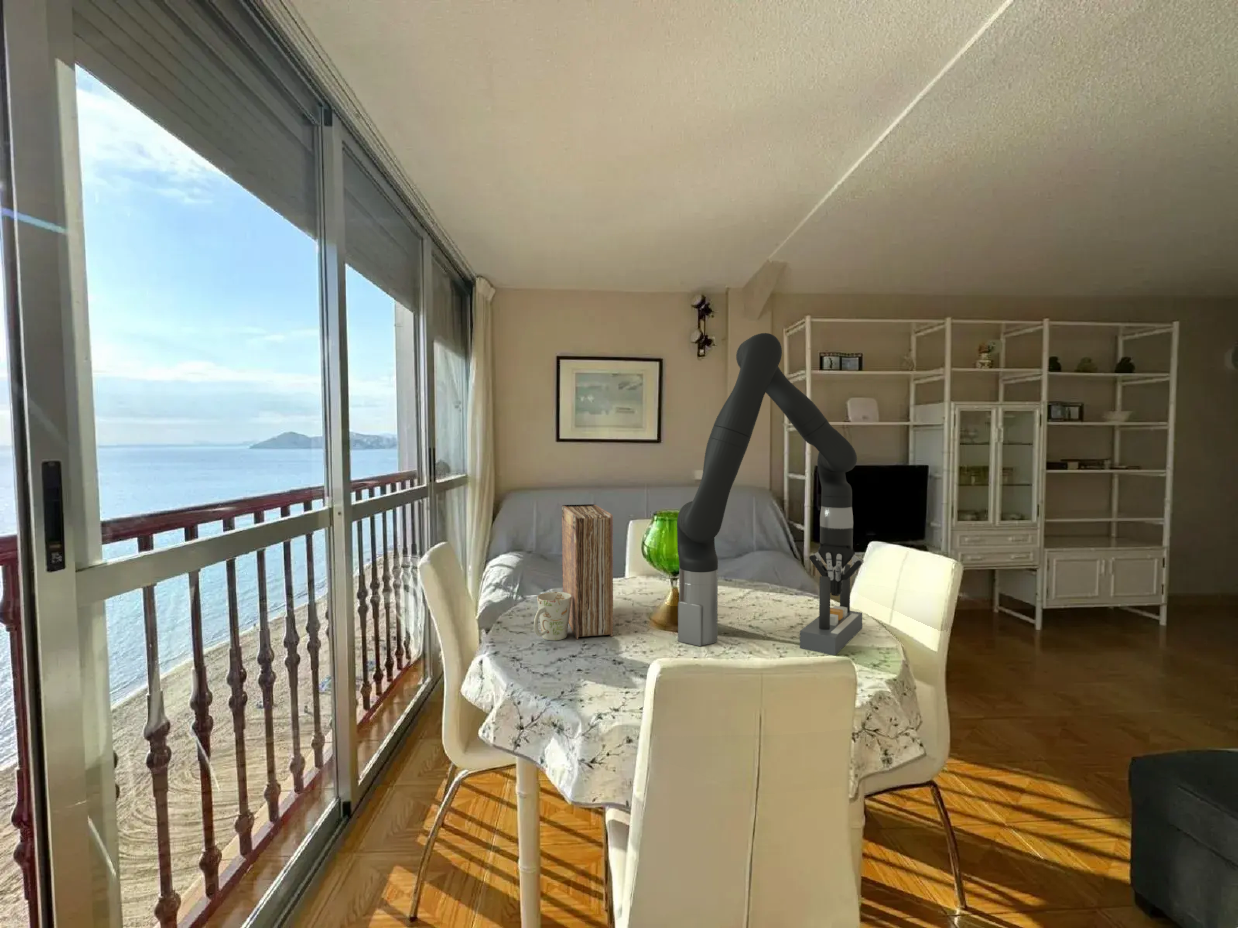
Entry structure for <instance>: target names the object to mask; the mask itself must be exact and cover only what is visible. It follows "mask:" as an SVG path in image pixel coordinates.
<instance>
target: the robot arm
mask: <svg viewBox="0 0 1238 928" xmlns="http://www.w3.org/2000/svg"><path fill="white" fill-rule="evenodd" d="M782 349H783V348H782V345H781V342H780V340H779V338H777V337H776V336H775V334H772V333H769V332H762V333H757V334H754V335H752V336H751V337H749V338H747V339H745V340H744V341H743V342H742V343H741V344H740V345H739V346H738V347H737V350H736V355H735V357H736V358H735V359H736V363H737V366H738V367H739V372H738V376H737V379H736V381H735V385H734V387H733V388H732V391H731V392H730V394H729V395H728V398H727V399H726V401H725V402H724V404H723V405H722V408H721V409H720V411H719V412H718V415H717V416H716V419H715V421H714V423H713V426H712V427H711V432H710V434H709V436H708V440H707V444H706V448H705V453H704V460H703V461H704V462H703V469H702V476H701V480H700V483H699V486H698V488H697V491H696V493H695V496H694V498H693V500H691V501H689V502H687V503H685V504H684V505H683V506H682V507H681V508H680V510H679V512H678V515H677V521H676V524H677V525H676V533H677V534H676V535H677V540H676V542H677V544H676V545H677V555H678V556H677V557H678V564H679V565H678V567H679V568H678V569H679V571H678V573H679V576H678V577H679V578H678V581H679V583H678V589H679V592H678V602H677V641H678V642H681V643H684V644H690V645H694V646H697V647H701V646H705V645H706V646H707V645H711V644H714V643H716V642H717V641H718V623H719V622H718V620H719V619H718V612H719V611H718V606H719V605H718V603H719V601H718V600H719V599H718V595H719V593H718V592H719V591H718V587H719V586H718V585H719V584H718V583H719V582H718V581H719V578H718V577H719V570H718V569H719V558H718V555H717V552H716V544H715V537H717V536H718V534H719V532H720V530H721V528H722V525H723V521H724V516H725V512H726V508H727V505H728V499H729V495H730V493H731V489H732V487H733V485H734V482H735V480H736V478H737V475H738V473H739V471H740V467H741V464H742V462H743V459H744V456H745V454H746V452H747V450H748V446H749V444H750V441H751V438H752V435H753V432H754V429H755V426H756V423H757V420H758V416H759V413H760V411H761V407H762V403H763V400H764V397H765V394H766V395H767V396H769V398H770V399H771V400H772V401H773V402H774V403H775V404H776V406H777V407H778V409H780V410H781V412H782V413H783V414H784V416H785V417H786V418H787V419H788V421H789V422H790V423H791V424H792V426H793V427H794V429H795V430H796V431H797V432H798V434H799V435H800V436H801V437H802V439H803V440H804V442H806V443H807V444H808V445H811V446H813V447H814V448H815V449H816V450H817V451H818V454H817V461H816V462H817V463H816V464H817V471H818V477H819V482H820V486H821V493H820V494H821V504H820V505H821V506H820V507H821V509H820V514H819V547H818V549H817V552H815V553H814V554H811V555H810V556H809V560H810V562H811V563H812V565H813V566H814V567H815V569H816V570H817V571H818V573H819V574H820V576H827V577H830V578H831V583H830V596H832V597H833V596H834V597H838V596H839V597H840V594H841V593H842V587H843V580H847V579H848V578H850V579H851V577H852V576H853V575H854V573H856V572H857V571H858V569H859V568H861V567H862V565H863V564H864V559H862V558H859V557H858V556H857V555H856V553H855V550H854V548H853V544H854V543H853V540H854V539H853V537H854V515H853V513H854V512H853V489H852V486H851V484H850V483H848V481H847V477H846V473H847V472H850V471H852V470H853V469H854V468H855V467H856V465H857V461H858V456H857V453H856V450H855V448H854V447H853V445H852V444H851V443H850V441H848V440H847V438H845V436H843V435H842V434H841V433H840V432H839V431H838V430H837V429H835V428H834V427H833V425H831V423H830V422H829V421H828V419H827V417H825V415H824V414H823V413H822V411H821V410H820V408H818V406H817V405H816V404H815V403H814V402H813V401H812V400H811V399H810V398H809V397H808V396H807V395H806V394H805V393H803V392H802V391H801V390H800V389H798V388H797V387H796V386H795V385H794V384H793V383H792V382H791V381H790V380H789V379H788V377H787V376H786V375H785V374H784V372H782V370H781V368H780V367H779V366H780V364H781V360H782V355H783V350H782ZM822 560H823V561H822ZM850 561H851V565H852V566H850V569H849V570H848V571H847V572H846V573H845V574H844V570H845V565H847V564H849V562H850ZM823 562H824V563H825V564H826V566H825V565H824V563H823Z"/></svg>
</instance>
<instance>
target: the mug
mask: <svg viewBox="0 0 1238 928" xmlns="http://www.w3.org/2000/svg"><path fill="white" fill-rule="evenodd" d="M536 600H537V608H538V609H537V611H536V614H535V616H534V619H533V630H534V633H535V636H538V637H542V639H544V640H546V641H560V640H564V639H566V638H567V637H568V630H569V615H570V606H571V595H570V594H568V593H564V592H563V591H550V592H544V593H540V594H538V595H537V597H536ZM538 623H540V624H538ZM538 625H540V629H541V632H540V630H539V626H538Z"/></svg>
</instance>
